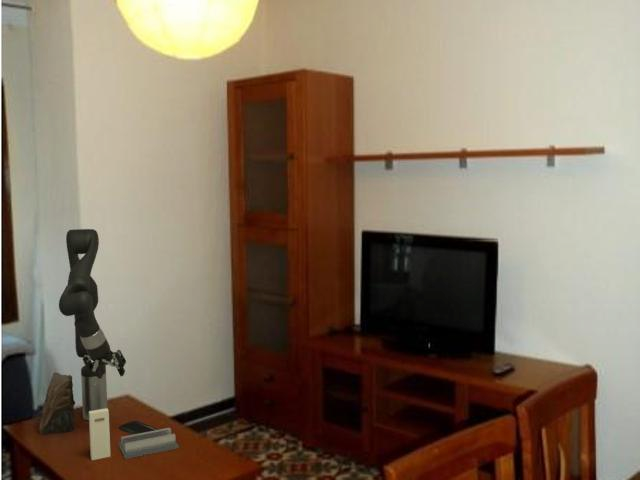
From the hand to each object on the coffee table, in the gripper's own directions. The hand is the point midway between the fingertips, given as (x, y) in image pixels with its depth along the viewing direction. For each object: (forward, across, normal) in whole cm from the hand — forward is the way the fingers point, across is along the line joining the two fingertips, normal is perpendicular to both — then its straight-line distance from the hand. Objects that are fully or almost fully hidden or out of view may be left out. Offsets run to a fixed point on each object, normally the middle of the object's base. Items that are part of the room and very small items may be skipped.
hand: (111, 375), depth 225 cm
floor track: (+19, -13, +17) cm, 29 cm away
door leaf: (+13, 0, +25) cm, 28 cm away
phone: (+24, -3, +4) cm, 25 cm away
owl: (+18, +28, +6) cm, 34 cm away
